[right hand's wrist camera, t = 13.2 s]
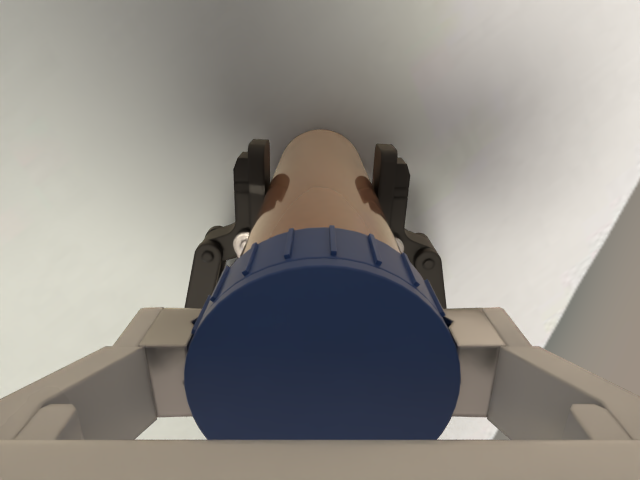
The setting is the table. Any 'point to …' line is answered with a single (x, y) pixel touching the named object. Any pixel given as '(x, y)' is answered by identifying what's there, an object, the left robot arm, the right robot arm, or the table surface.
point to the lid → (322, 345)
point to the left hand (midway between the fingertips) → (322, 146)
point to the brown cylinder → (320, 191)
